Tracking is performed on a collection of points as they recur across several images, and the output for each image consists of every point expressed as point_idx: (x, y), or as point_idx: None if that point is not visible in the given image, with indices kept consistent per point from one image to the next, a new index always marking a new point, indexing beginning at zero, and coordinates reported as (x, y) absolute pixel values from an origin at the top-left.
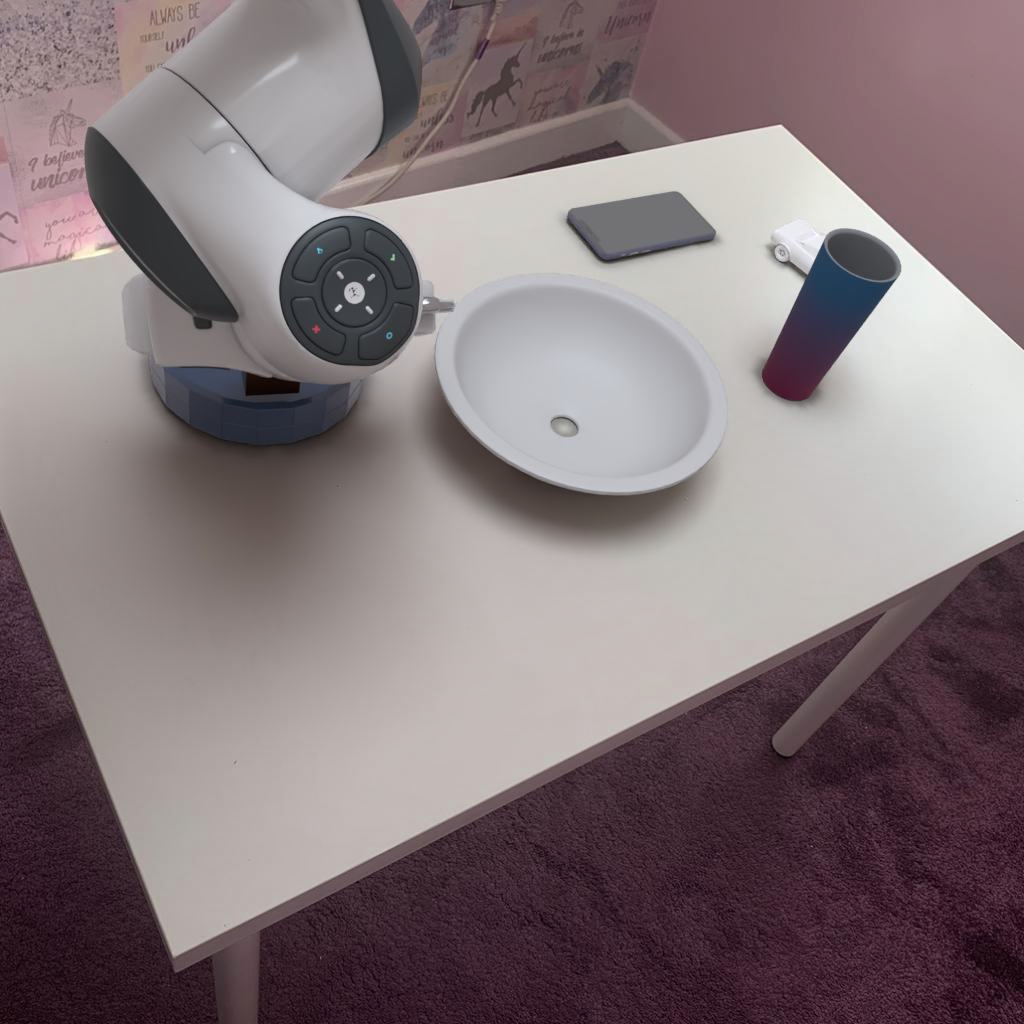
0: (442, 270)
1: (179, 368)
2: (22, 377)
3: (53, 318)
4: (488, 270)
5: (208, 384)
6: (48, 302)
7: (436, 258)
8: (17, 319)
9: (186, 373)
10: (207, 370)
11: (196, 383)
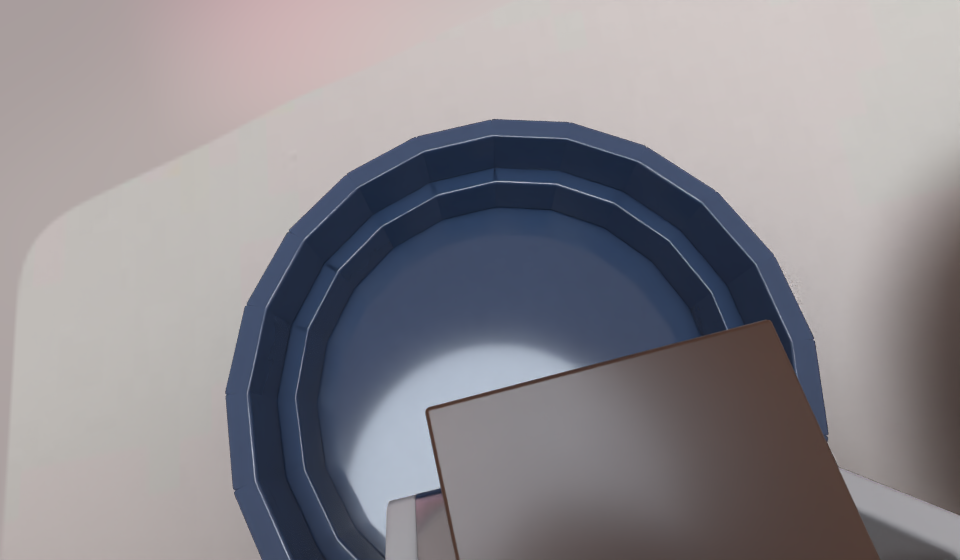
0: (830, 30)
1: (344, 424)
2: (31, 497)
3: (99, 311)
4: (921, 10)
5: (411, 463)
6: (91, 270)
7: (810, 4)
8: (31, 328)
9: (361, 436)
10: (405, 419)
11: (385, 465)
